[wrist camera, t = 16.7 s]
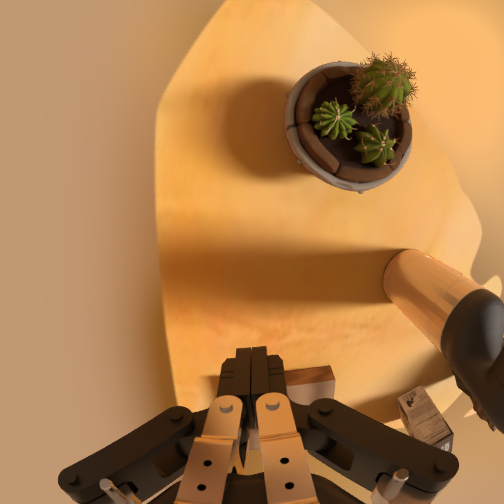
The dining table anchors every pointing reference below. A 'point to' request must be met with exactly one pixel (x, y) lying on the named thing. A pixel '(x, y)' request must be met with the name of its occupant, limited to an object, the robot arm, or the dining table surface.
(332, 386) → the socket board
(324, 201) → the dining table surface
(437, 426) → the coffee box
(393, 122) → the flowerpot
